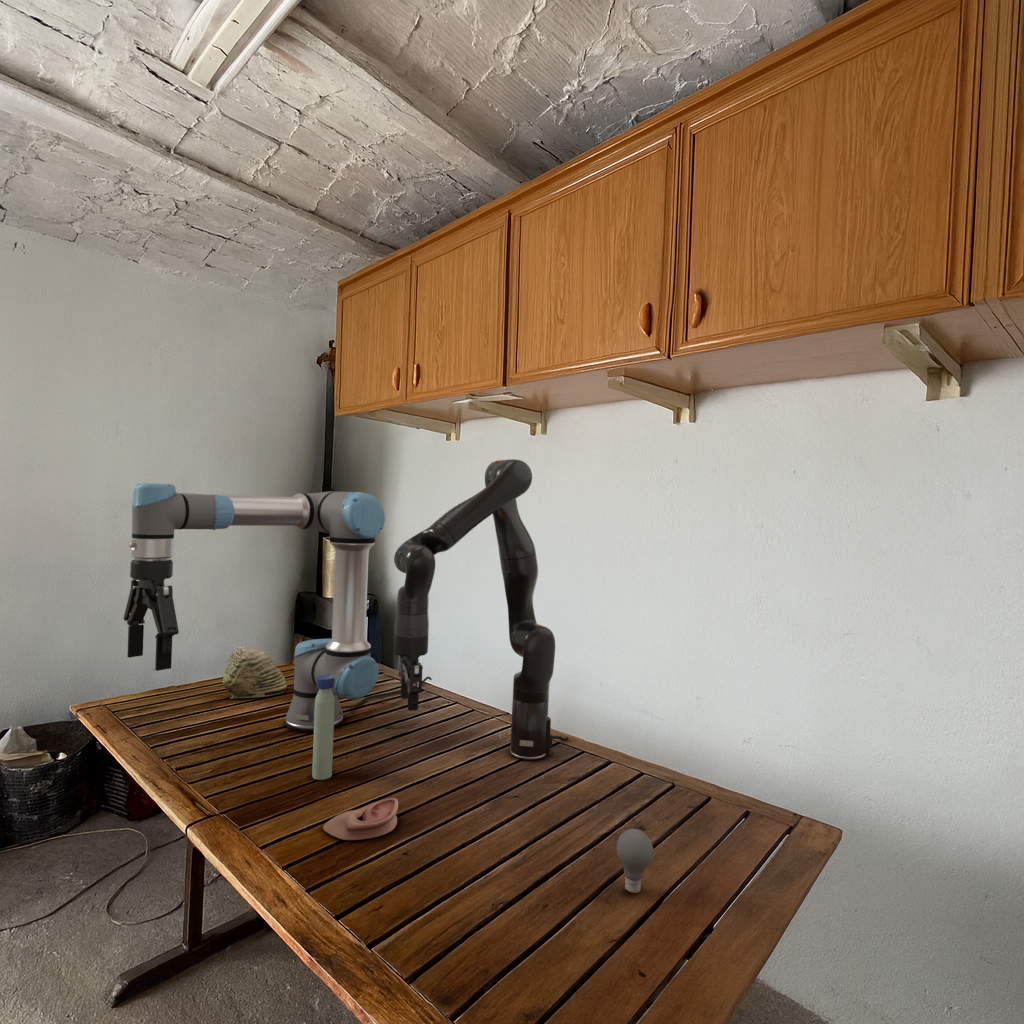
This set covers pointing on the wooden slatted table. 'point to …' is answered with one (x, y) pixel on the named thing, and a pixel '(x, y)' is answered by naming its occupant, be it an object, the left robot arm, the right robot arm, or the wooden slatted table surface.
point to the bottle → (323, 734)
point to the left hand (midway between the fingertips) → (148, 662)
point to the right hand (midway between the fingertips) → (409, 704)
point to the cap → (325, 682)
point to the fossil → (252, 674)
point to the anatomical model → (364, 821)
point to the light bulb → (634, 857)
